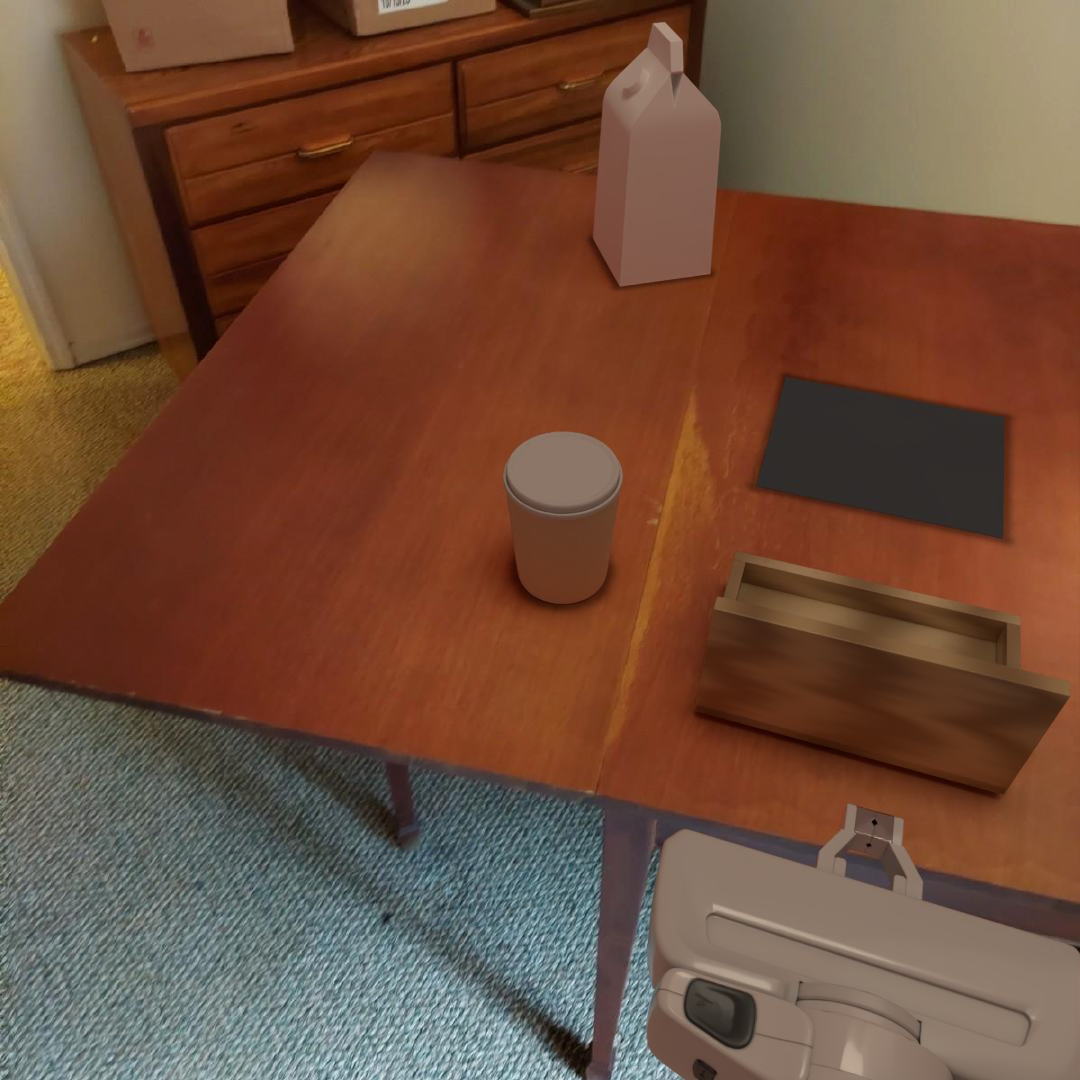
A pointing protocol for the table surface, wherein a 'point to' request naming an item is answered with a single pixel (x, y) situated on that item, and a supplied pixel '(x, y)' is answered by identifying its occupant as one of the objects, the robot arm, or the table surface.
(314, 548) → the table surface
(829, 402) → the mat
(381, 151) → the table surface
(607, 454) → the coffee cup
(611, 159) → the milk
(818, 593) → the drawer
